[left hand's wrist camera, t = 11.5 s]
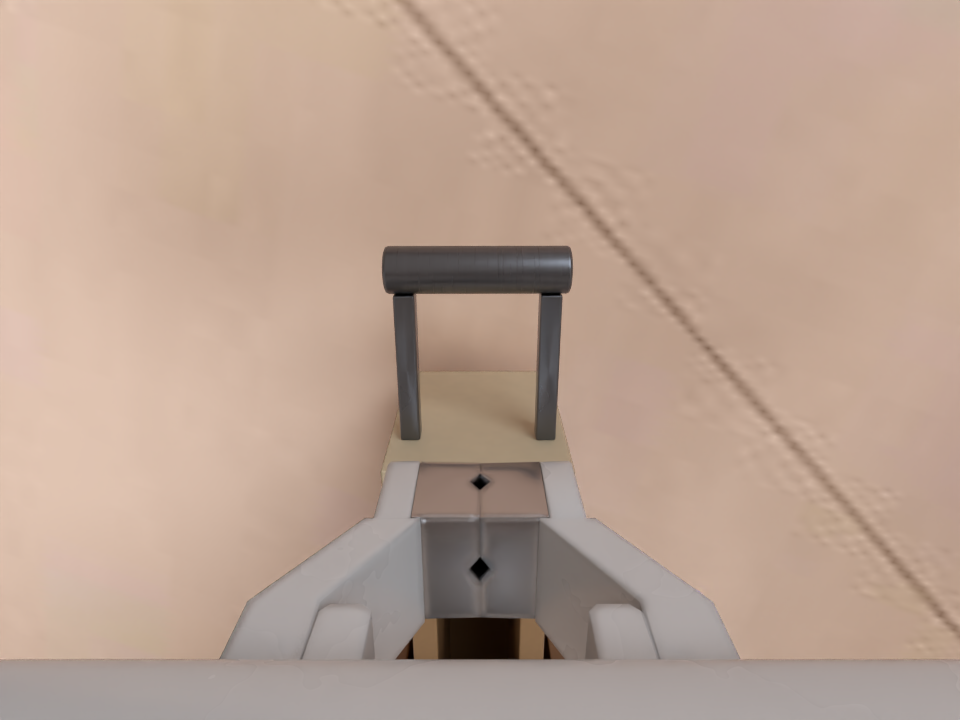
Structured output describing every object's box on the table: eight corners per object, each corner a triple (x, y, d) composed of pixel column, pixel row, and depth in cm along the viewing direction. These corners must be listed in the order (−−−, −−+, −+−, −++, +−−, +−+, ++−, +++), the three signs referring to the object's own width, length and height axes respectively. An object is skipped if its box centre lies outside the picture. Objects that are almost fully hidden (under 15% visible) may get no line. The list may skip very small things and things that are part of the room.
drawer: (400, 217, 21) (365, 262, 15) (555, 216, 21) (589, 262, 15) (424, 684, 30) (407, 849, 23) (535, 684, 30) (550, 849, 23)
